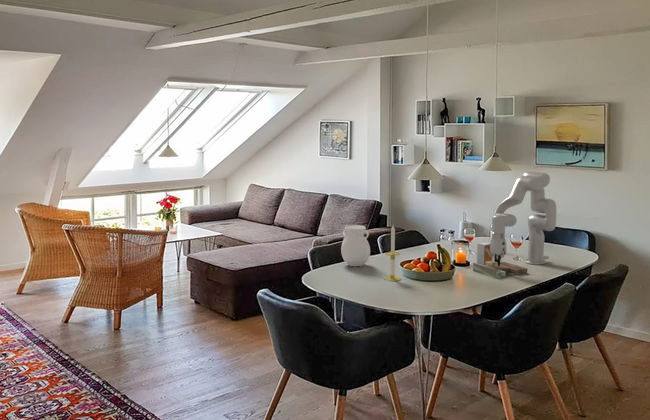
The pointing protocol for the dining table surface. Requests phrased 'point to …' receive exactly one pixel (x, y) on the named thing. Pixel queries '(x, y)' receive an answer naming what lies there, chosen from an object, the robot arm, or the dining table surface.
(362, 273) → the dining table surface
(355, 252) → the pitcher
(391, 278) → the candle
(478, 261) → the small box
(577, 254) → the dining table surface
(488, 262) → the maple cube
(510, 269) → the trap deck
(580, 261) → the dining table surface
